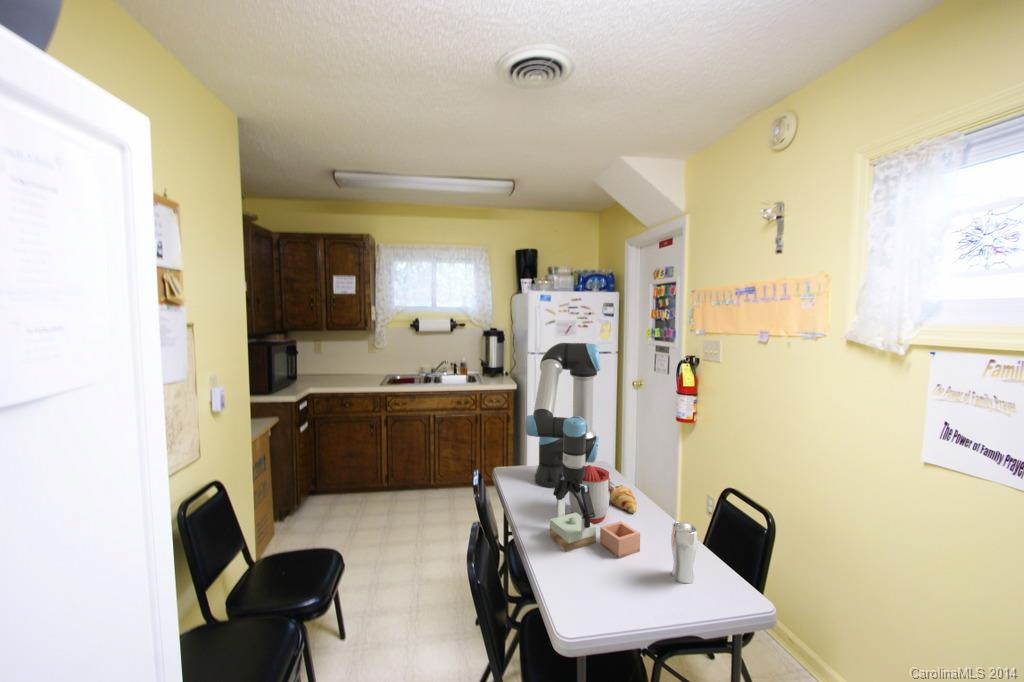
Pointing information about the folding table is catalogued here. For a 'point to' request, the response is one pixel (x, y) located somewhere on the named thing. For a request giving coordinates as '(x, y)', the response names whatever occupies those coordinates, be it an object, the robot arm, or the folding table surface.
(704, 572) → the folding table surface
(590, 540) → the wooden block
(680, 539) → the beer glass
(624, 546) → the open box
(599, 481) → the citrus juicer
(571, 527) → the lid
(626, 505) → the croissant
